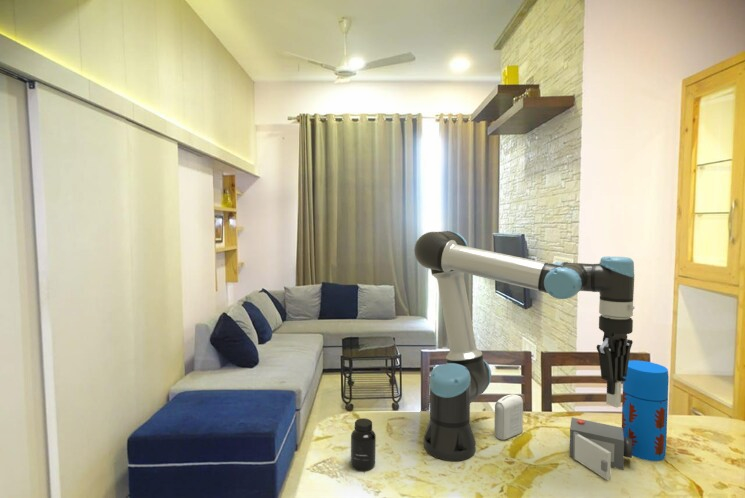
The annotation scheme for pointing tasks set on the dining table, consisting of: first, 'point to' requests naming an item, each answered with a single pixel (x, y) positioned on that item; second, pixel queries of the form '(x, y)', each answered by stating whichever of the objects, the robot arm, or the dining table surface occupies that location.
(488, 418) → the dining table surface
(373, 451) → the supplement bottle
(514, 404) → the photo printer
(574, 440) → the side door
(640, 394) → the thermos
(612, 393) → the robot arm
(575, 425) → the camera body
